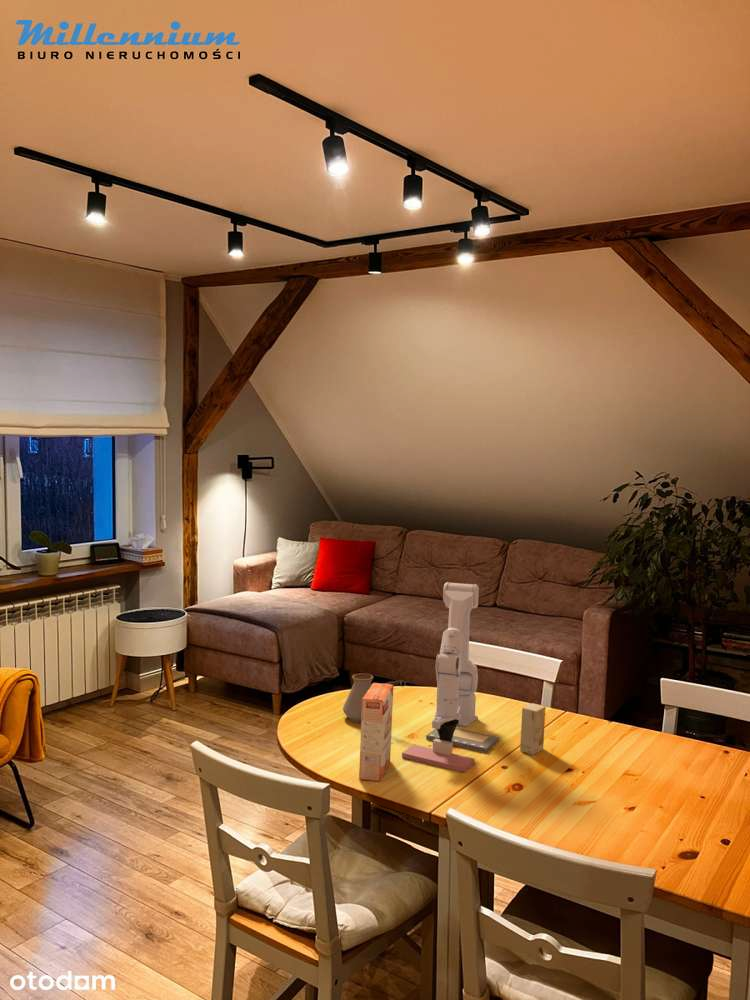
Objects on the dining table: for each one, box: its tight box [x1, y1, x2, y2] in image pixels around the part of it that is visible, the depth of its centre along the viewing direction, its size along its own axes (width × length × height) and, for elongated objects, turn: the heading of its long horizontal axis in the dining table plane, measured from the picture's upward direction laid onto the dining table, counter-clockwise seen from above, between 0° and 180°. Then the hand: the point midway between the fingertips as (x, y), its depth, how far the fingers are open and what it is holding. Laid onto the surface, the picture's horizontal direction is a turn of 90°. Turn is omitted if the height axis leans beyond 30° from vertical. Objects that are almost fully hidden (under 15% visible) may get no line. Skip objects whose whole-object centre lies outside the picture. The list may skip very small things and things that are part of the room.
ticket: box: [425, 727, 500, 754], centre depth 232 cm, size 10×18×1 cm, turn 61°
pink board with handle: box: [401, 739, 476, 773], centre depth 217 cm, size 7×18×4 cm, turn 61°
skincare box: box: [519, 702, 546, 756], centre depth 226 cm, size 6×4×12 cm
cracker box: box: [358, 682, 394, 782], centre depth 209 cm, size 14×6×21 cm, turn 168°
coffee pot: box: [342, 673, 407, 723], centre depth 244 cm, size 21×12×15 cm, turn 51°
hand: (445, 746), depth 221 cm, fingers closed
